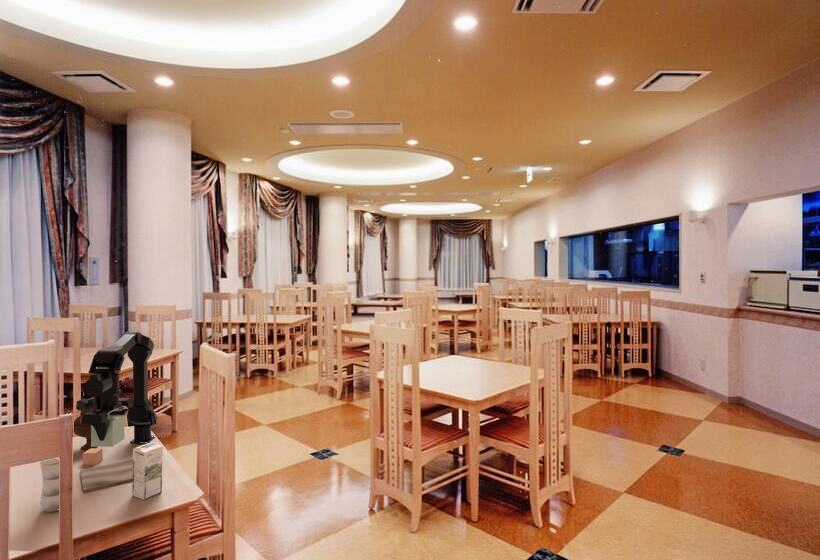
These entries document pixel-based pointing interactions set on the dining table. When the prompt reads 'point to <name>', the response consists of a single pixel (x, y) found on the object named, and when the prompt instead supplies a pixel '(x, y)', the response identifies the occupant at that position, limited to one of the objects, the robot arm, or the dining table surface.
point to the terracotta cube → (92, 456)
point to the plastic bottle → (50, 485)
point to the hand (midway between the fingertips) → (108, 436)
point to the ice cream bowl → (83, 430)
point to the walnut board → (107, 475)
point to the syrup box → (147, 470)
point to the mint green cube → (110, 432)
